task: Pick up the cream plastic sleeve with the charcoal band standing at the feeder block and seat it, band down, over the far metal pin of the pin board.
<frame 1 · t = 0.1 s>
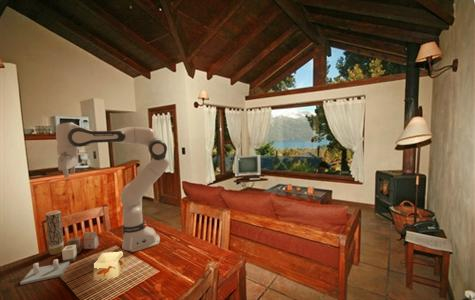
hand: (69, 175, 120), 48 cm above the table, fingers open, 8 cm apart
sleeve: (70, 259, 121), on the table
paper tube: (57, 252, 128), on the table
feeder: (74, 251, 128), on the table
grey box: (91, 247, 133), on the table
pinboard: (46, 273, 109), on the table
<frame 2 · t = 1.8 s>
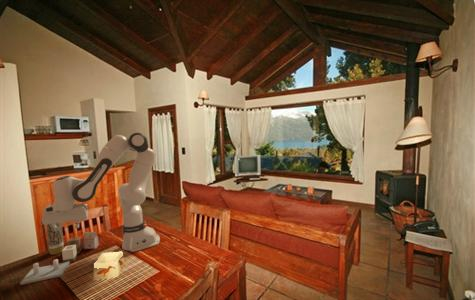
hand: (67, 229, 119), 18 cm above the table, fingers open, 8 cm apart
nothing on the table moved.
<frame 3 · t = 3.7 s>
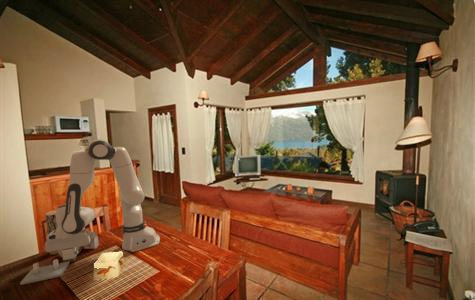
hand: (69, 254, 121), 3 cm above the table, fingers closed on sleeve, 5 cm apart
sleeve: (70, 259, 121), on the table, touching gripper
everything else where it was.
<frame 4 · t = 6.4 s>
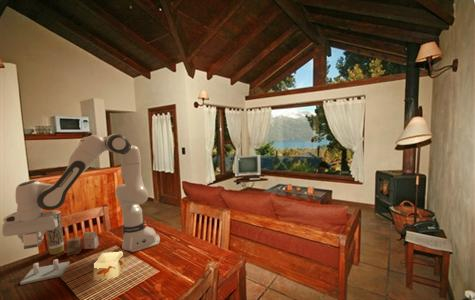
hand: (32, 240, 106), 19 cm above the table, fingers closed on sleeve, 5 cm apart
sleeve: (33, 245, 106), point 16 cm above the table, touching gripper
everything else where it was.
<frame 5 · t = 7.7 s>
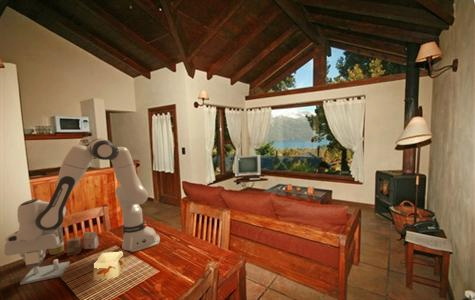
hand: (34, 258, 106), 9 cm above the table, fingers closed on sleeve, 5 cm apart
sleeve: (35, 263, 107), point 7 cm above the table, touching gripper
everything else where it was.
when the fingers open (5 cm above the table, at t = 9.0 s): sleeve stays where it is, resting on pinboard.
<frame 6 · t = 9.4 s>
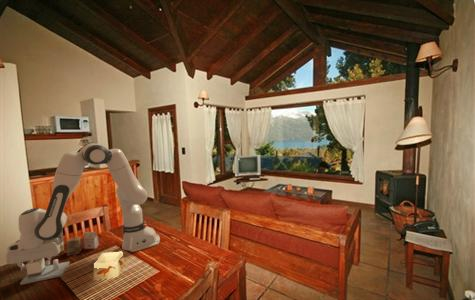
hand: (36, 267, 107), 5 cm above the table, fingers open, 8 cm apart
sleeve: (36, 273, 107), point 1 cm above the table, touching pinboard
everything else where it was.
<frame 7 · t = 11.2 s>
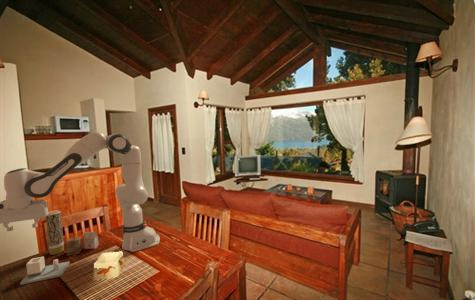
hand: (22, 228, 105), 25 cm above the table, fingers open, 8 cm apart
nothing on the table moved.
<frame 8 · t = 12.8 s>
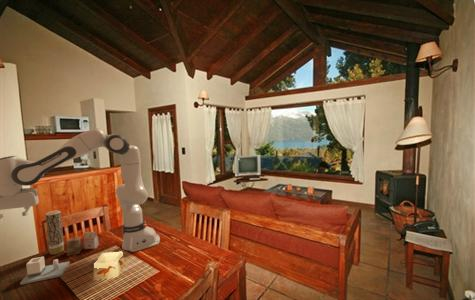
hand: (12, 216, 104), 31 cm above the table, fingers open, 8 cm apart
nothing on the table moved.
at the end: sleeve 0.1 cm from the target spot on the pinboard, point 1.2 cm above the pinboard's base; sleeve tilted 0°; the gripper is holding nothing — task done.
